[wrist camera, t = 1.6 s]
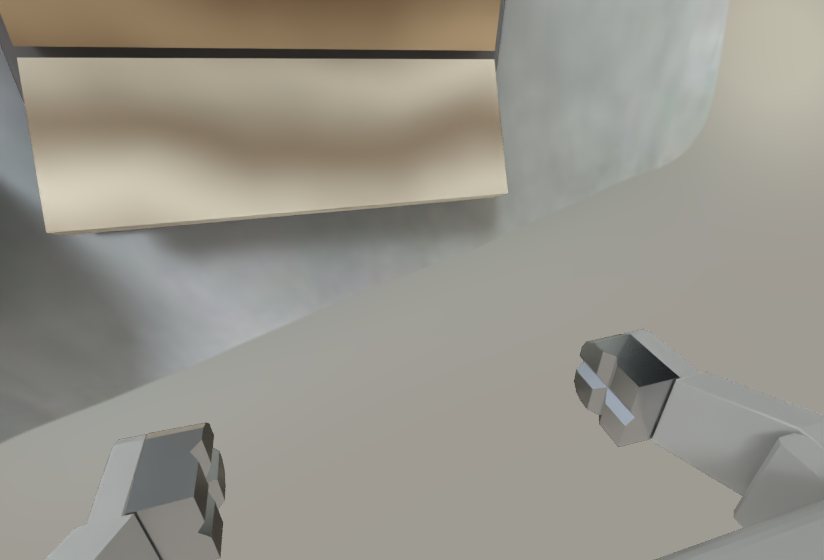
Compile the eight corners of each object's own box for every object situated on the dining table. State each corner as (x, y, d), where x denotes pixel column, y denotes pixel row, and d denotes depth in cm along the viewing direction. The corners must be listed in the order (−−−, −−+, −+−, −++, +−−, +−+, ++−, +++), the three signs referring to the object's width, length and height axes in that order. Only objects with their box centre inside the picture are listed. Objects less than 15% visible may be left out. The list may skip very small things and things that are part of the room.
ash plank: (36, 73, 19) (16, 57, 18) (482, 71, 25) (494, 59, 24) (63, 235, 20) (46, 232, 18) (495, 197, 25) (508, 193, 24)
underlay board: (-84, -199, 16) (-102, -209, 15) (510, -124, 22) (520, -128, 21) (81, 223, 24) (75, 231, 23) (474, 190, 30) (480, 196, 29)
